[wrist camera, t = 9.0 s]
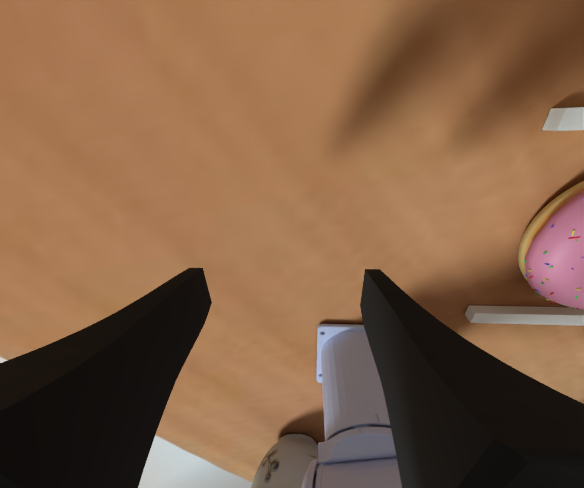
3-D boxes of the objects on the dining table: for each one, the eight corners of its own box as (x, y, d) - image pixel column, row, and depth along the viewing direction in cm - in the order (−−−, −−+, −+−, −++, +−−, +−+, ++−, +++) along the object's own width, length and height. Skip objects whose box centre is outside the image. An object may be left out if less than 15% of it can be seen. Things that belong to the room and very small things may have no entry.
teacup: (241, 436, 37) (225, 510, 30) (300, 411, 33) (297, 491, 26) (303, 471, 42) (302, 542, 35) (363, 453, 37) (375, 531, 30)
